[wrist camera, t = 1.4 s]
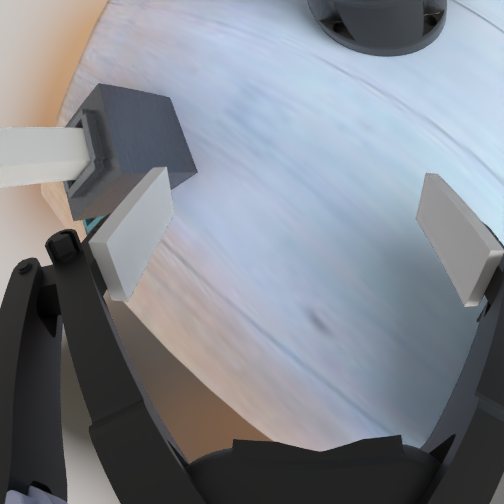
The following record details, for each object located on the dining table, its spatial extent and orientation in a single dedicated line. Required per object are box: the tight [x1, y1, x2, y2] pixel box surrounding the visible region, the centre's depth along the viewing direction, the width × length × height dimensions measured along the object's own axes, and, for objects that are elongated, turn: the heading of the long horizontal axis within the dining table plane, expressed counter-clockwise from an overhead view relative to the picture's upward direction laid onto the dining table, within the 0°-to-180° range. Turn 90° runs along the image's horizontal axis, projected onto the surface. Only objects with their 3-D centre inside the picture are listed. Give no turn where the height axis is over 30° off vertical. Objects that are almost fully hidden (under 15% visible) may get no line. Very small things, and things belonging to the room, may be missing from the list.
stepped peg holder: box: [63, 83, 198, 235], centre depth 40 cm, size 13×28×13 cm, turn 116°
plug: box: [0, 127, 91, 188], centre depth 24 cm, size 5×4×17 cm
